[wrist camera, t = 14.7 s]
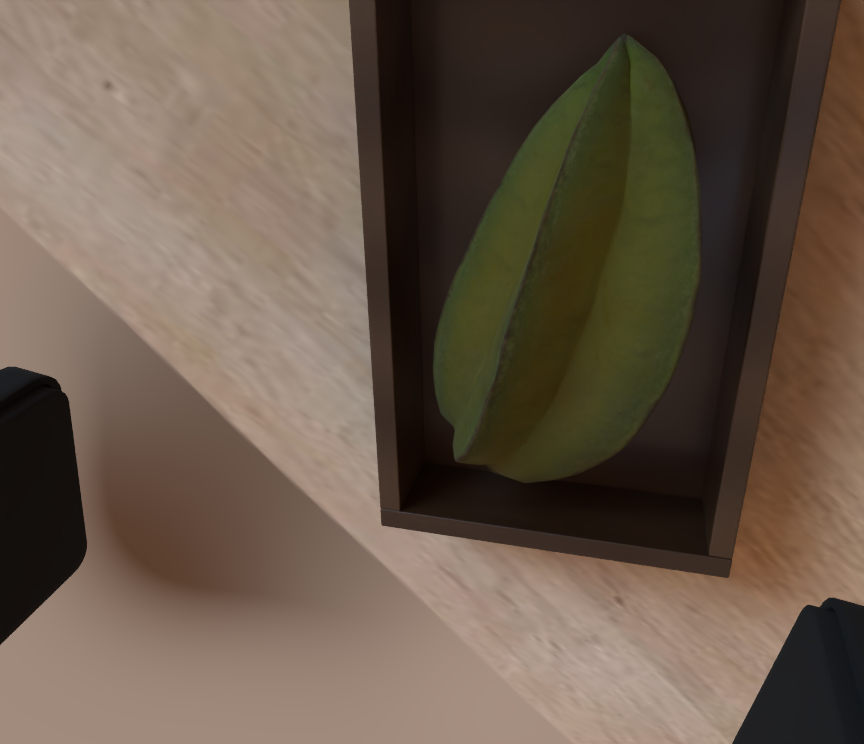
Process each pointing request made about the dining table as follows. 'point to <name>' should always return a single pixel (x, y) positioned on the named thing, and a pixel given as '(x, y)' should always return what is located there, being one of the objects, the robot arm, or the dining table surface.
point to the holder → (475, 186)
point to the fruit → (577, 279)
